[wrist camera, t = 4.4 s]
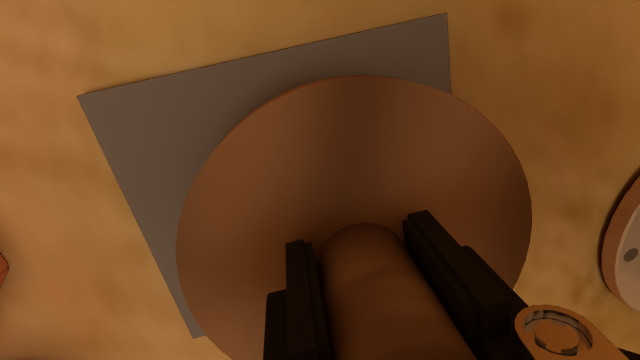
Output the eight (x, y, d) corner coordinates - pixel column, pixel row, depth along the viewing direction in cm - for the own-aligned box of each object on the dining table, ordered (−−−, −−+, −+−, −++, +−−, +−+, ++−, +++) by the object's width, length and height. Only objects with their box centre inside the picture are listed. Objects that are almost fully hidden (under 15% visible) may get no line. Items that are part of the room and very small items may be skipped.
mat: (439, 14, 13) (447, 12, 13) (454, 258, 18) (459, 264, 18) (84, 93, 13) (76, 95, 12) (195, 329, 17) (192, 338, 17)
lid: (508, 36, 10) (773, 18, 4) (507, 324, 14) (646, 491, 8) (129, 122, 9) (-61, 210, 4) (243, 390, 13) (218, 604, 8)
